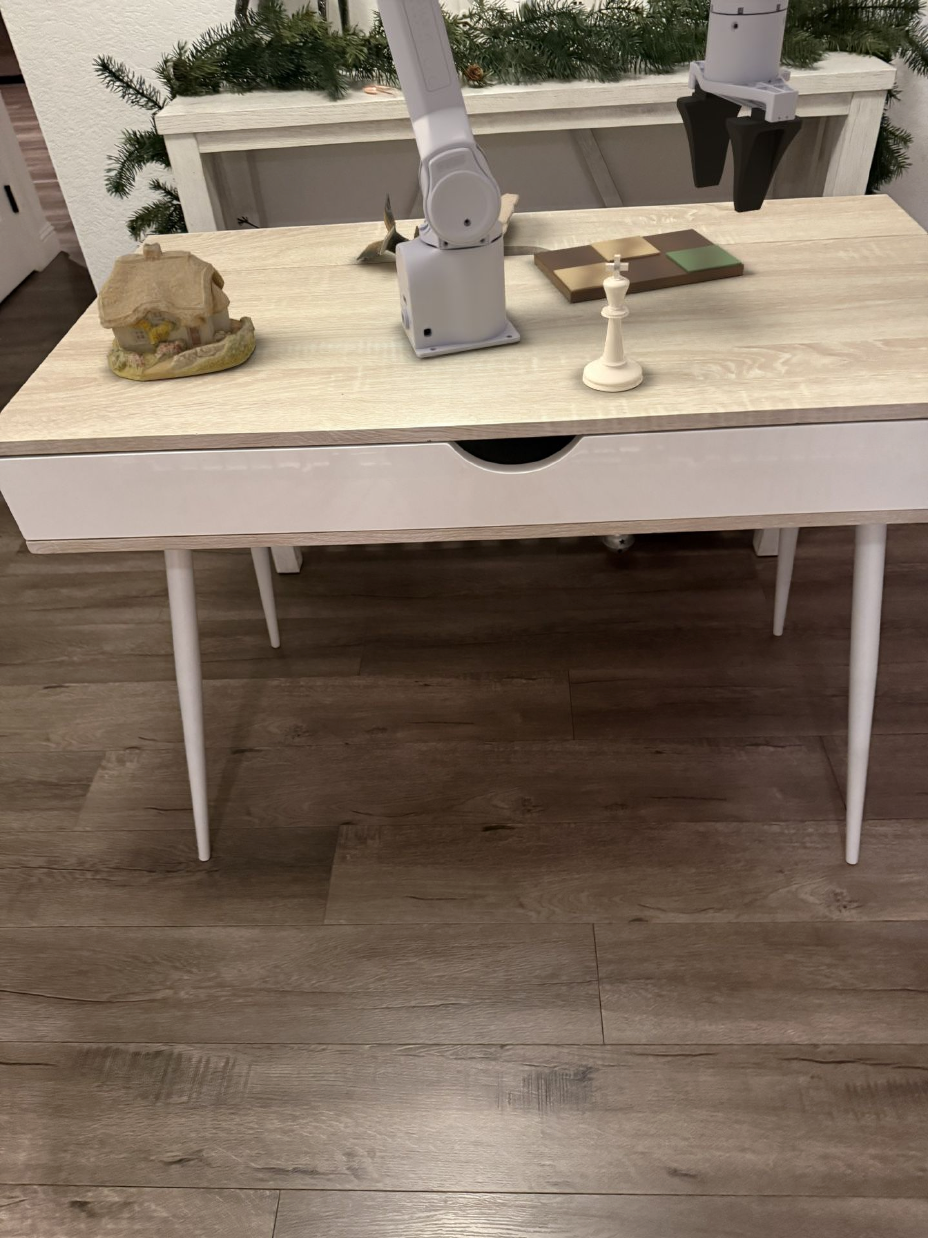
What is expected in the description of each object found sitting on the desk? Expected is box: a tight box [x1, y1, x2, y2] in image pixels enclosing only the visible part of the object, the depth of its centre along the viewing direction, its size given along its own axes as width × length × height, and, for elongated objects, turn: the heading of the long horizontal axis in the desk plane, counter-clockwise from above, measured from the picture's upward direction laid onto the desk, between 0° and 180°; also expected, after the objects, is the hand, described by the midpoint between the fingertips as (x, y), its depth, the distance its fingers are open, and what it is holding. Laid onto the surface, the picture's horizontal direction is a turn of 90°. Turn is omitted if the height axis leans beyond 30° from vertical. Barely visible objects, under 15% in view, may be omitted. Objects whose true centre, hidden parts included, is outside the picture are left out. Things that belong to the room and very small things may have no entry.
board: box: [533, 228, 745, 303], centre depth 94 cm, size 18×12×1 cm, turn 104°
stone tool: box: [498, 192, 520, 237], centre depth 104 cm, size 9×3×15 cm
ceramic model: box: [96, 241, 256, 382], centre depth 82 cm, size 14×11×10 cm
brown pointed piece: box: [356, 193, 419, 261], centre depth 98 cm, size 8×7×9 cm
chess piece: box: [582, 255, 644, 393], centre depth 73 cm, size 5×5×10 cm
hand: (726, 197), depth 79 cm, fingers open, 7 cm apart
